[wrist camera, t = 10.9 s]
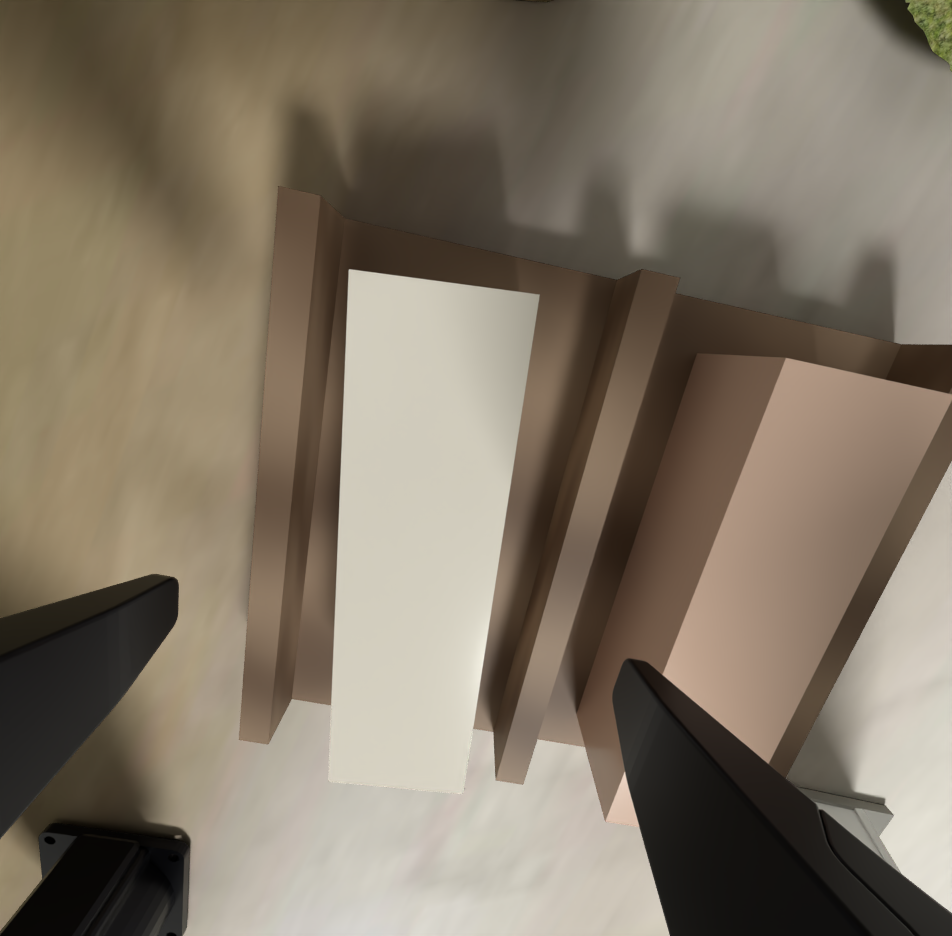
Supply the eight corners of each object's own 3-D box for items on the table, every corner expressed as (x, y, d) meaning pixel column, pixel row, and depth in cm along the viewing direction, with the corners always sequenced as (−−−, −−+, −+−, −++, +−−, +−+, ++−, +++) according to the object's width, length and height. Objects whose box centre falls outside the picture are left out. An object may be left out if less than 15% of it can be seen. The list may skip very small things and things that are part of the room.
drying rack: (716, 745, 19) (762, 822, 16) (279, 672, 18) (238, 739, 15) (895, 350, 15) (1008, 352, 11) (323, 221, 13) (278, 186, 10)
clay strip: (465, 691, 17) (462, 794, 13) (361, 680, 17) (327, 781, 13) (521, 308, 13) (539, 294, 9) (386, 290, 13) (348, 269, 9)
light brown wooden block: (673, 731, 17) (729, 840, 14) (576, 714, 17) (605, 821, 13) (819, 379, 14) (954, 394, 10) (697, 353, 13) (786, 357, 10)
